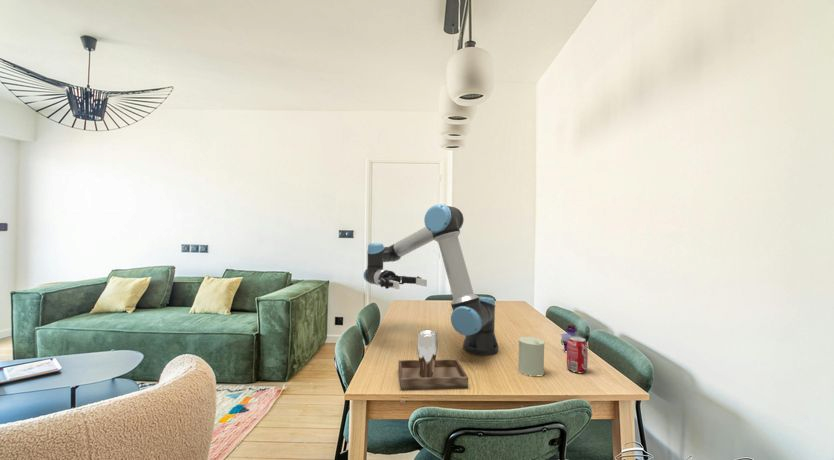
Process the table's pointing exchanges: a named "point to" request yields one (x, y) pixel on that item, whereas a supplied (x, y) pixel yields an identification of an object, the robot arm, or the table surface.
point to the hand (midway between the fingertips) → (412, 284)
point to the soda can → (577, 354)
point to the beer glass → (427, 353)
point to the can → (531, 356)
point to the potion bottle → (568, 335)
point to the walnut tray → (446, 377)
